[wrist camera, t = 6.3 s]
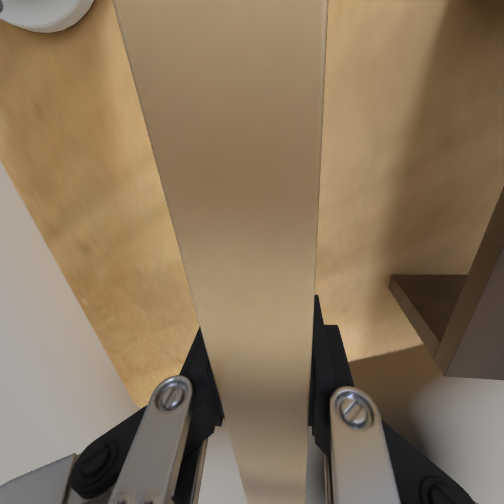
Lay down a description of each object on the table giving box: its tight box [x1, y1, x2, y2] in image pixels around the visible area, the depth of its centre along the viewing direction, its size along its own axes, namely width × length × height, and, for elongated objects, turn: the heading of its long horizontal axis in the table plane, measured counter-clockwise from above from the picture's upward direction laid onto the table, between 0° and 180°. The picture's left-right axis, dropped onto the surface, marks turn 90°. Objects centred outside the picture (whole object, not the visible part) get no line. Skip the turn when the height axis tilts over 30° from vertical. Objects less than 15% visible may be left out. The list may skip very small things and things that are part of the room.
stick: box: [112, 0, 328, 504], centre depth 9 cm, size 24×3×4 cm, turn 5°
